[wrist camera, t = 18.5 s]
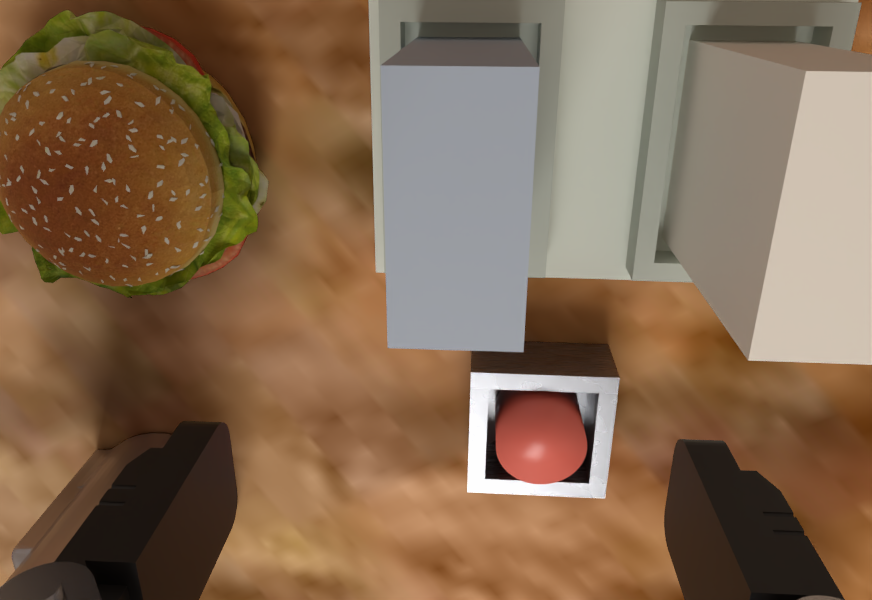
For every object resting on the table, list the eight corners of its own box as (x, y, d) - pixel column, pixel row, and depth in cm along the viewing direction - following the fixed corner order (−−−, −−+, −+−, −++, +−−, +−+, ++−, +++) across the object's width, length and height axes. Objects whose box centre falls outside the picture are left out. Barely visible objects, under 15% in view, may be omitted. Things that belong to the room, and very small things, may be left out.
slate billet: (419, 231, 40) (387, 348, 27) (417, 36, 36) (380, 65, 23) (511, 233, 40) (523, 352, 27) (520, 37, 36) (539, 67, 23)
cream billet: (662, 237, 39) (748, 360, 26) (689, 39, 35) (805, 70, 22) (757, 239, 39) (891, 365, 26) (795, 40, 35) (975, 73, 22)
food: (197, -34, 36) (125, -38, 29) (315, 222, 41) (278, 273, 34) (-26, 68, 39) (-144, 87, 32) (109, 297, 44) (34, 359, 37)
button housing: (468, 452, 47) (467, 492, 43) (472, 339, 43) (470, 372, 40) (595, 457, 46) (604, 498, 42) (608, 344, 43) (619, 377, 39)
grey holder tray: (378, 266, 42) (370, 285, 39) (370, -20, 36) (361, -20, 33) (789, 278, 41) (811, 299, 38) (851, -16, 35) (883, -16, 32)
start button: (493, 441, 45) (493, 482, 41) (496, 370, 43) (497, 406, 39) (575, 445, 45) (583, 486, 41) (582, 373, 43) (591, 410, 39)
